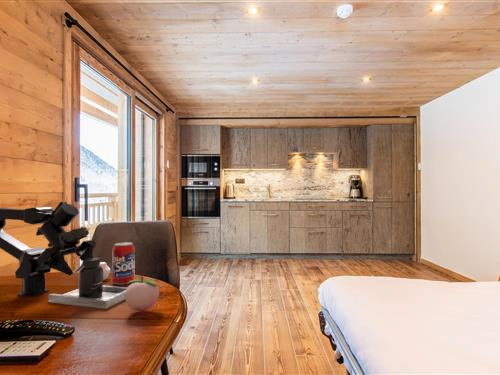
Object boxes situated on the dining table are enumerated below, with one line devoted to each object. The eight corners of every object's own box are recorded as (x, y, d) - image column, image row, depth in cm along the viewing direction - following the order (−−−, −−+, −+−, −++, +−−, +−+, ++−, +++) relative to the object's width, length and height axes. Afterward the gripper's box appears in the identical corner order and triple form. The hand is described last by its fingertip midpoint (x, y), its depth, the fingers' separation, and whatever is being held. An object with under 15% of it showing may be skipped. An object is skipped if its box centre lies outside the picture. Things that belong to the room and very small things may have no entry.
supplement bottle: (99, 299, 92) (99, 260, 92) (75, 300, 90) (75, 261, 90) (105, 292, 98) (105, 256, 99) (83, 293, 97) (83, 257, 97)
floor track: (48, 302, 92) (48, 294, 92) (81, 289, 103) (81, 283, 104) (106, 308, 86) (106, 300, 86) (134, 294, 97) (134, 288, 98)
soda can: (127, 278, 117) (127, 241, 117) (138, 282, 112) (138, 243, 113) (108, 283, 111) (108, 244, 111) (119, 287, 106) (119, 245, 106)
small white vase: (111, 280, 116) (111, 262, 116) (93, 282, 112) (93, 264, 113) (109, 276, 121) (109, 259, 121) (92, 278, 118) (92, 261, 118)
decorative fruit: (118, 318, 78) (118, 281, 79) (131, 307, 87) (131, 273, 87) (153, 318, 78) (153, 281, 79) (162, 306, 87) (162, 273, 87)
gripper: (45, 222, 88) (74, 260, 85) (92, 217, 106) (118, 249, 104) (24, 246, 90) (52, 285, 87) (74, 238, 108) (99, 270, 105)
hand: (83, 271), depth 96 cm, fingers open, 9 cm apart
